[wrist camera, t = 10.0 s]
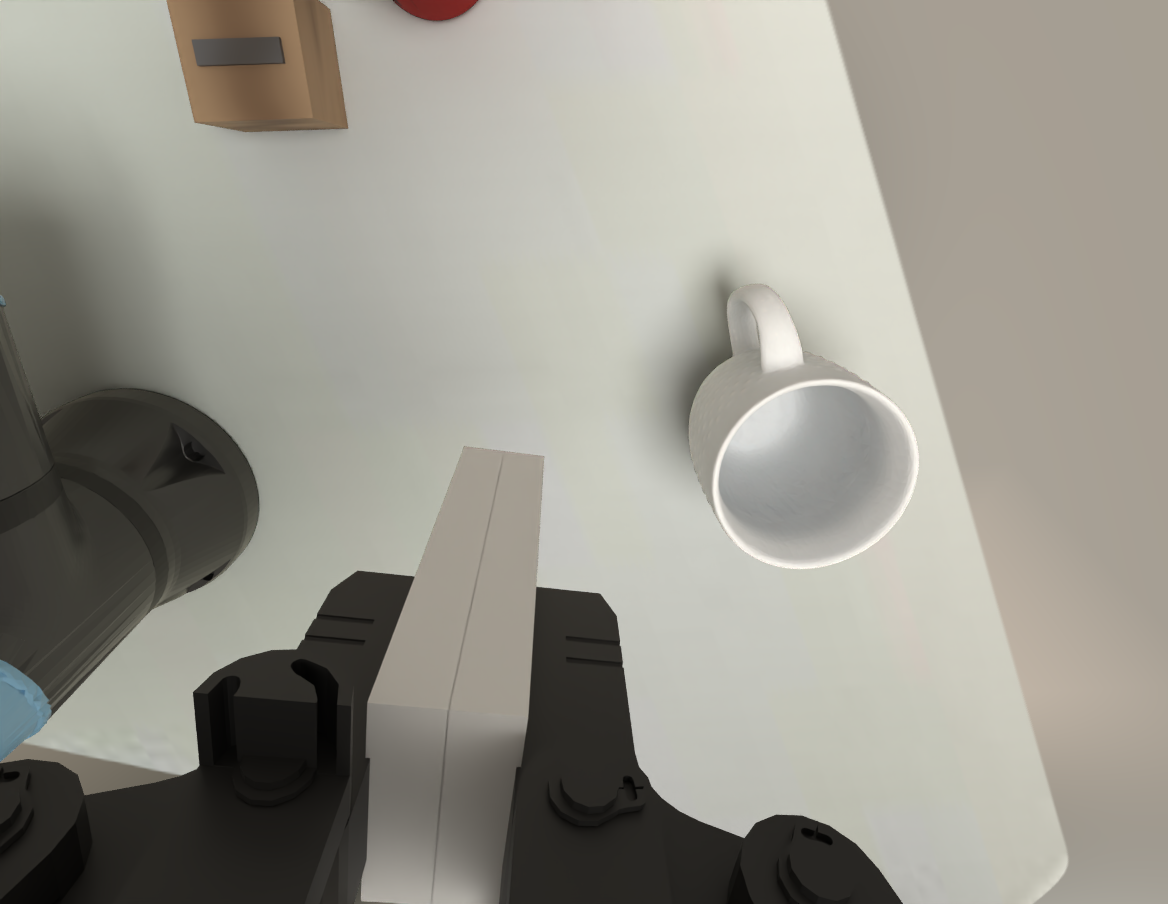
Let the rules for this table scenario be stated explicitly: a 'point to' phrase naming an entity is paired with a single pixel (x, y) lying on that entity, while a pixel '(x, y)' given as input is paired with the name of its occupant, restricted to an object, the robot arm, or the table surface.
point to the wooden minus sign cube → (259, 64)
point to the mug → (796, 445)
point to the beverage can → (435, 8)
